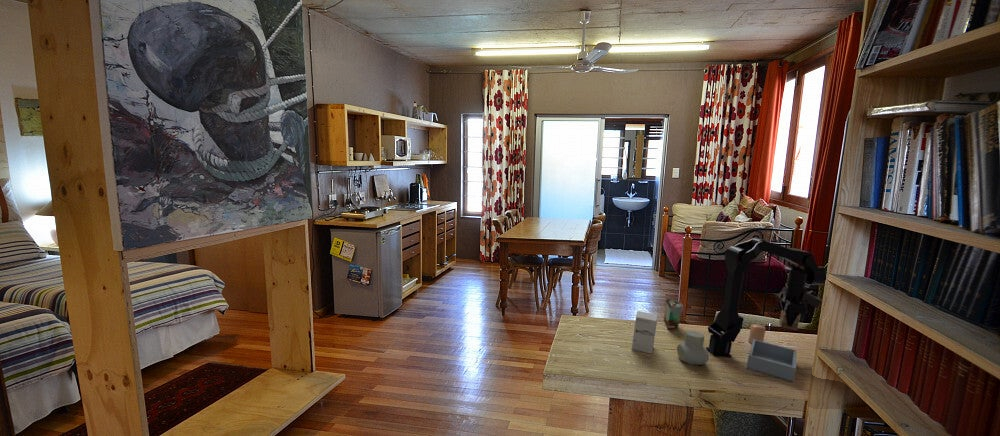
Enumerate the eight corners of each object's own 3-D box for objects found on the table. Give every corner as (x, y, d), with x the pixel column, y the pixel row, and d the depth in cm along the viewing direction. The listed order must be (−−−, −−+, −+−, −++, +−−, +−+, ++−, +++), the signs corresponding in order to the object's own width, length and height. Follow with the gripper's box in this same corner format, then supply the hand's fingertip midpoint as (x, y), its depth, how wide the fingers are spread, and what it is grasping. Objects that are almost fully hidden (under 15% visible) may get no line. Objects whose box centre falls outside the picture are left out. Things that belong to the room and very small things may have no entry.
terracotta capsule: (753, 346, 174) (756, 328, 173) (745, 340, 179) (748, 323, 178) (765, 346, 174) (768, 329, 173) (757, 340, 179) (760, 324, 178)
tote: (793, 382, 147) (795, 368, 146) (746, 369, 154) (748, 355, 153) (793, 363, 161) (796, 350, 161) (751, 351, 169) (753, 338, 168)
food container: (683, 333, 182) (687, 309, 180) (667, 330, 183) (671, 307, 181) (678, 321, 194) (681, 299, 192) (663, 319, 195) (666, 297, 193)
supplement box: (631, 349, 163) (635, 316, 161) (633, 342, 170) (637, 310, 168) (652, 354, 160) (656, 320, 158) (653, 346, 167) (658, 314, 165)
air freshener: (673, 353, 163) (677, 326, 161) (697, 354, 163) (701, 328, 161) (685, 367, 152) (689, 339, 150) (709, 369, 152) (714, 341, 150)
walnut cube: (797, 330, 164) (799, 317, 164) (781, 327, 166) (783, 314, 165) (794, 326, 169) (797, 313, 168) (779, 322, 171) (781, 310, 170)
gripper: (829, 295, 153) (820, 338, 156) (816, 281, 170) (808, 320, 173) (791, 288, 158) (782, 330, 160) (782, 276, 175) (774, 314, 177)
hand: (788, 323), depth 167 cm, fingers closed on walnut cube, 5 cm apart
